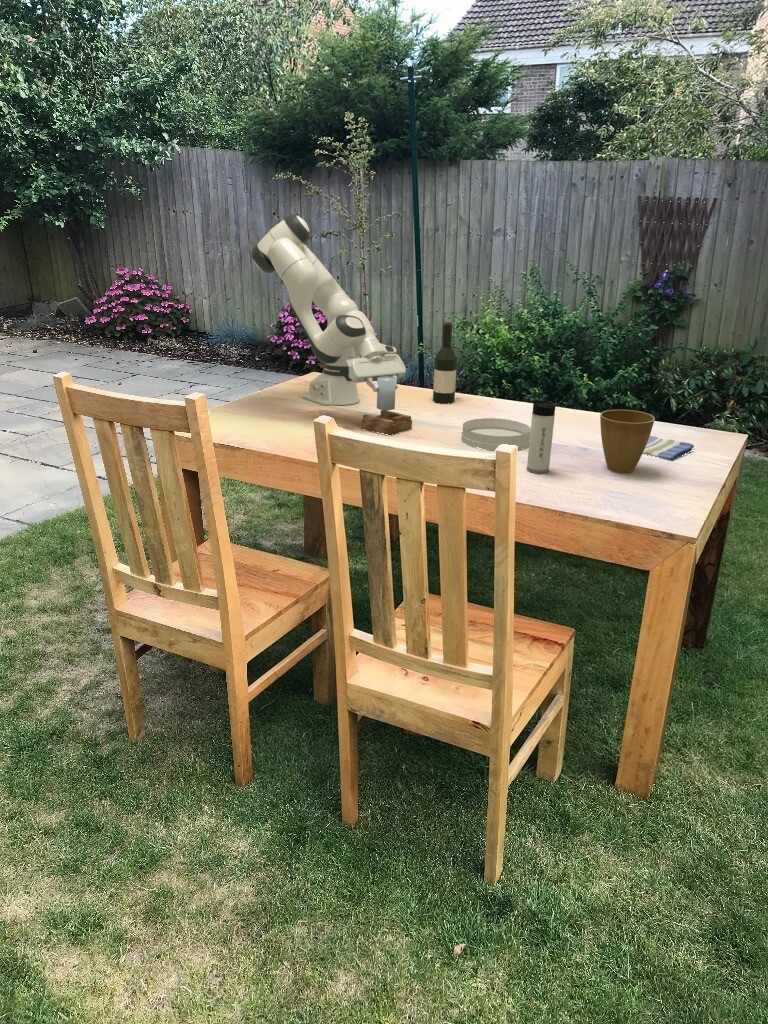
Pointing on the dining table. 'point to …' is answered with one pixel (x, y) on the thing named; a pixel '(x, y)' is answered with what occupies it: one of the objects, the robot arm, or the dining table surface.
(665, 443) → the dish towel
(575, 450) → the dining table surface
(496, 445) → the dish
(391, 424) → the chest
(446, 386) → the wine bottle
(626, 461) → the plant pot
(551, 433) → the travel mug
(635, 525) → the dining table surface
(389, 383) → the grey domed cylinder
